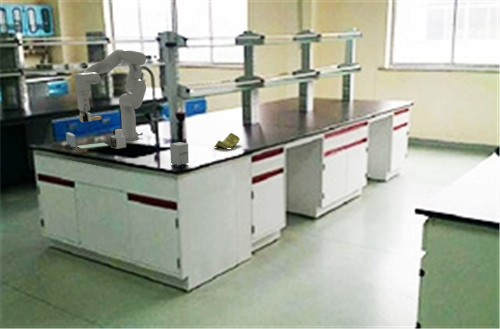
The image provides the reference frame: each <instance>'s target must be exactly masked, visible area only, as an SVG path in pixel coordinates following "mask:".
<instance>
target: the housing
mask: <svg viewBox="0 0 500 329" xmlns="http://www.w3.org/2000/svg"><path fill="white" fill-rule="evenodd" d="M65 137H66V145H67V146H70V147H71V148H77V144H76V135H75V134H74V133H72V132H65Z"/></svg>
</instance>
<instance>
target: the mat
mask: <svg viewBox="0 0 500 329" xmlns="http://www.w3.org/2000/svg"><path fill="white" fill-rule="evenodd" d="M108 146H109V144H107V143H105V142H100V143H89V144H83V145H82V144H81V145H76V148H78V147H79V149H80V150H83V149H93V148H101V147H108Z"/></svg>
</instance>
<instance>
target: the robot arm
mask: <svg viewBox="0 0 500 329" xmlns="http://www.w3.org/2000/svg"><path fill="white" fill-rule="evenodd" d="M146 62H147V57H146V54H145V53H144V52H139V51H135V50H130V49H126V48H124V49H123V48H117V49H115V50H113V51H112V52H111V53H110V54H109V55H107V56H106V57H105V58H104V59H102V60H100V61H97V63H95V64H92V65H90V66H89V67H88V68H86V69H85V70H84V71H83V72H78V73H75V74H74V83H75V95H76V96H77V108H78V110H79V115H80V114H81V113H83V122H82V123H89V122H88V113H89V111H91V106H90V100H89V85H97V84H99V83H100V81H101V74H105V73H109V72H112V71H113V70H114V69H115V68H117V67H118V66H119V65H120V64H122V63H127V65H128V70H129V71H128V76H127V79H126V82H125V85H124V88H125V90H126V91H127V92H128V93H122V94H121V95H120V96H119V98H118V103H119V108H120V115H121V116H120V117H121V129H122V132H123V135H122V136H125V137H126V141H136V139H137V140H139V139H138V138H139V136H143V135H144V133H143V132H138V131H137V124H136V123H137V122H136V120H137V119H136V112H135V110H137V109H139V108H140V107H141V106H142V105H143V100H144V98H145V95H146V90H147V84H146V82H145V80H142V74H143V72H142V71H143V70H142V66H143V65H145V63H146Z"/></svg>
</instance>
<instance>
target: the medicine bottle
mask: <svg viewBox="0 0 500 329" xmlns="http://www.w3.org/2000/svg"><path fill="white" fill-rule="evenodd" d="M122 135H123V132H122V128H114V129H112V135H111V136H110V137H109V138H110V148H113V149H115V150H117V149H124V148H127V142H126V141H127V140H126V137H125V136H122Z"/></svg>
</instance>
